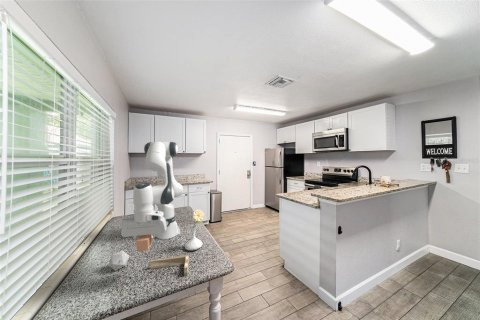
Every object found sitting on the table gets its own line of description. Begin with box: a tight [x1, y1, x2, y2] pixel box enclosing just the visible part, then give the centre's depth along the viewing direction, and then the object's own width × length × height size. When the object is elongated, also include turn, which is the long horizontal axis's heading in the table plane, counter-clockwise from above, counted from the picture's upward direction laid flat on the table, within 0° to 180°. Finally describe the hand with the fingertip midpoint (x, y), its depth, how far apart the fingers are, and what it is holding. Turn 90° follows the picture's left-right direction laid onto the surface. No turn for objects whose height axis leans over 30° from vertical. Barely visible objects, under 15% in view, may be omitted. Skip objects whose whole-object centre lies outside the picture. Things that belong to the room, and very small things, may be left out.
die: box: [108, 250, 130, 272], centre depth 98 cm, size 8×9×10 cm
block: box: [135, 234, 153, 252], centre depth 90 cm, size 5×9×5 cm, turn 12°
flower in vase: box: [184, 209, 205, 251], centre depth 117 cm, size 13×11×25 cm
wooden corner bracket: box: [149, 254, 190, 277], centre depth 93 cm, size 12×20×4 cm, turn 103°
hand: (145, 242), depth 90 cm, fingers closed on block, 5 cm apart
